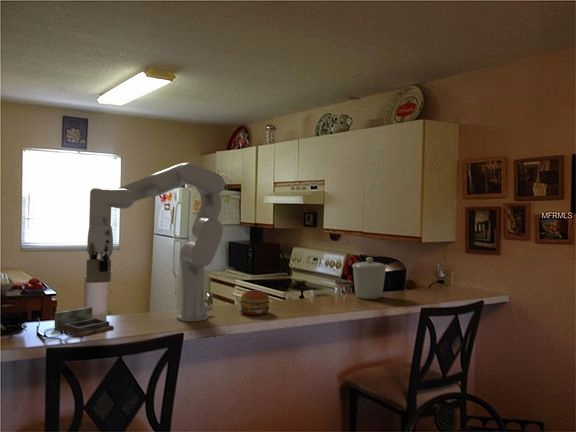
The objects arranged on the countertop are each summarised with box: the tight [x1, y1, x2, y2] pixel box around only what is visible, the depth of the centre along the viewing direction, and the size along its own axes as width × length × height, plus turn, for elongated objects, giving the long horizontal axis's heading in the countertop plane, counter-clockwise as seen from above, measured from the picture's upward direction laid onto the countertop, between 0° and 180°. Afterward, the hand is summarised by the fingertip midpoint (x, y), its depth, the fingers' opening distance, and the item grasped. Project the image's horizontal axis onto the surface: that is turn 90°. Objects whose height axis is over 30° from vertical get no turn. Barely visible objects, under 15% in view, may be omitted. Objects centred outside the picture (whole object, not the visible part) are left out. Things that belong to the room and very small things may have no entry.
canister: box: [351, 256, 388, 300], centre depth 257 cm, size 18×18×21 cm
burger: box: [238, 289, 271, 316], centre depth 216 cm, size 14×14×10 cm
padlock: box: [85, 242, 112, 284], centre depth 184 cm, size 4×8×15 cm, turn 119°
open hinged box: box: [54, 306, 115, 338], centre depth 184 cm, size 14×16×6 cm
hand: (98, 270), depth 184 cm, fingers closed on padlock, 5 cm apart
